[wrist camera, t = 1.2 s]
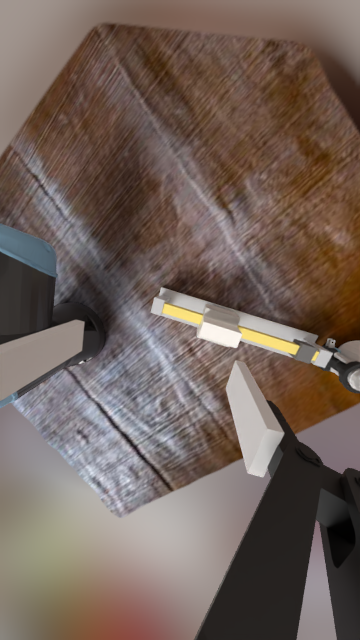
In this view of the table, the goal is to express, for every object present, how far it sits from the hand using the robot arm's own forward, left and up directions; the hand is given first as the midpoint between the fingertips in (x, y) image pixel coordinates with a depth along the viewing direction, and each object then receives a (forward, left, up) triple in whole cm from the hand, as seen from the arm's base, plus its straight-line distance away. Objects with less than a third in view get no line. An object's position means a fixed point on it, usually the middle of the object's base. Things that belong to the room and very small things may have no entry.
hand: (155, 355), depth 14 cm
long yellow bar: (+11, 0, -20) cm, 23 cm away
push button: (+31, 0, -25) cm, 40 cm away
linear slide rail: (+11, 0, -24) cm, 27 cm away
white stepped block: (+7, 0, -22) cm, 23 cm away
